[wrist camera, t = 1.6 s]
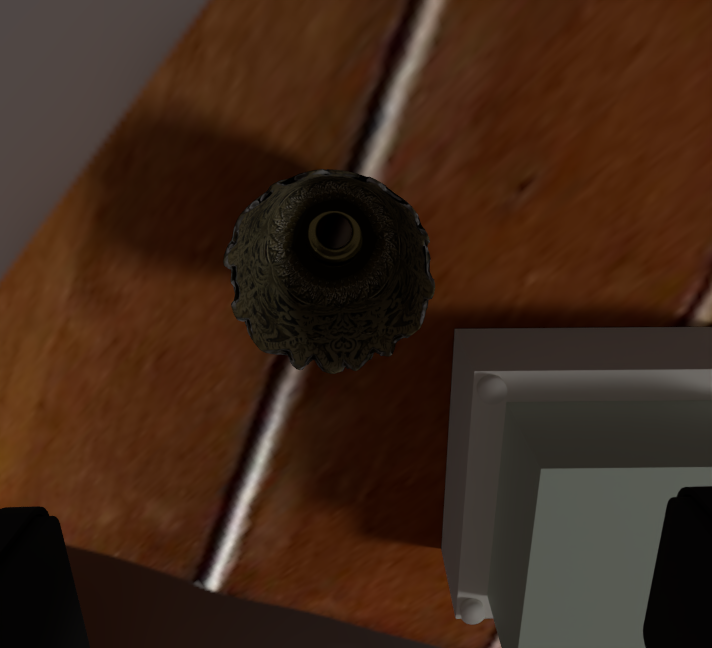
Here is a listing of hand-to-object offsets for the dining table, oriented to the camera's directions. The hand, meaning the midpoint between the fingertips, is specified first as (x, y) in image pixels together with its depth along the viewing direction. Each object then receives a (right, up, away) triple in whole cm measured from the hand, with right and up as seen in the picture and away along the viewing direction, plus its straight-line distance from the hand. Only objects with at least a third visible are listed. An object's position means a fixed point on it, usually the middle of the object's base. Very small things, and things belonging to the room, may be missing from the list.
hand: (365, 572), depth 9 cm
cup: (-1, +8, +19) cm, 21 cm away
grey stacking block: (+12, -3, +24) cm, 26 cm away
